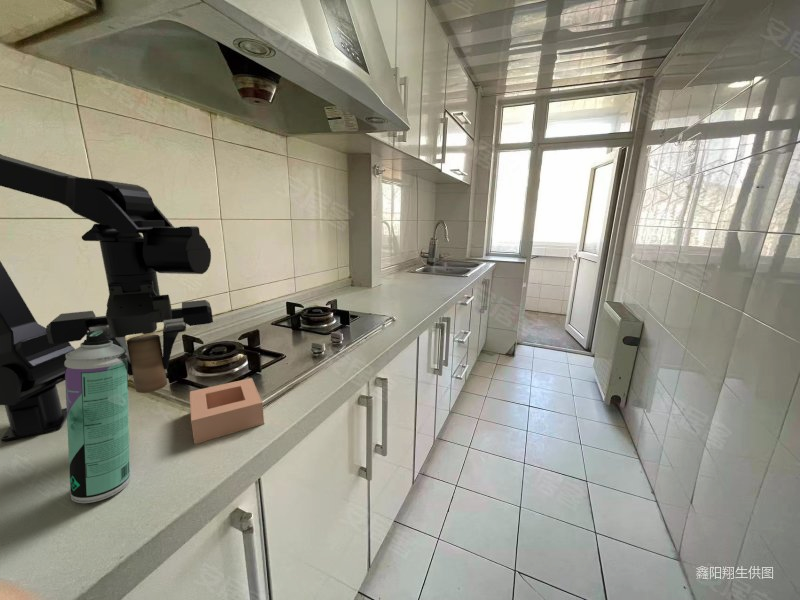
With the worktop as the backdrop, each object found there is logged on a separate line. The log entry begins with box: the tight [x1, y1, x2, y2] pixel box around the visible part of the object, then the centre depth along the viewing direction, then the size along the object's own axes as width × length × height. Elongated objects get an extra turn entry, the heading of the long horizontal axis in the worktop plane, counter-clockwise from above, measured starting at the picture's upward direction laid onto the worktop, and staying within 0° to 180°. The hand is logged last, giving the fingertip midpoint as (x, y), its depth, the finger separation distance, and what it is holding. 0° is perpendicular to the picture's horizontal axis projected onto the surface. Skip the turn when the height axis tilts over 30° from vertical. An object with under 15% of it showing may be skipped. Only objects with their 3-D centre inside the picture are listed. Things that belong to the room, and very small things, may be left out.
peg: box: [126, 333, 168, 394], centre depth 51 cm, size 4×4×8 cm
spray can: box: [64, 330, 131, 504], centre depth 40 cm, size 6×6×20 cm
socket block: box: [189, 377, 265, 445], centre depth 56 cm, size 10×10×4 cm
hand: (149, 371), depth 51 cm, fingers closed on peg, 4 cm apart
